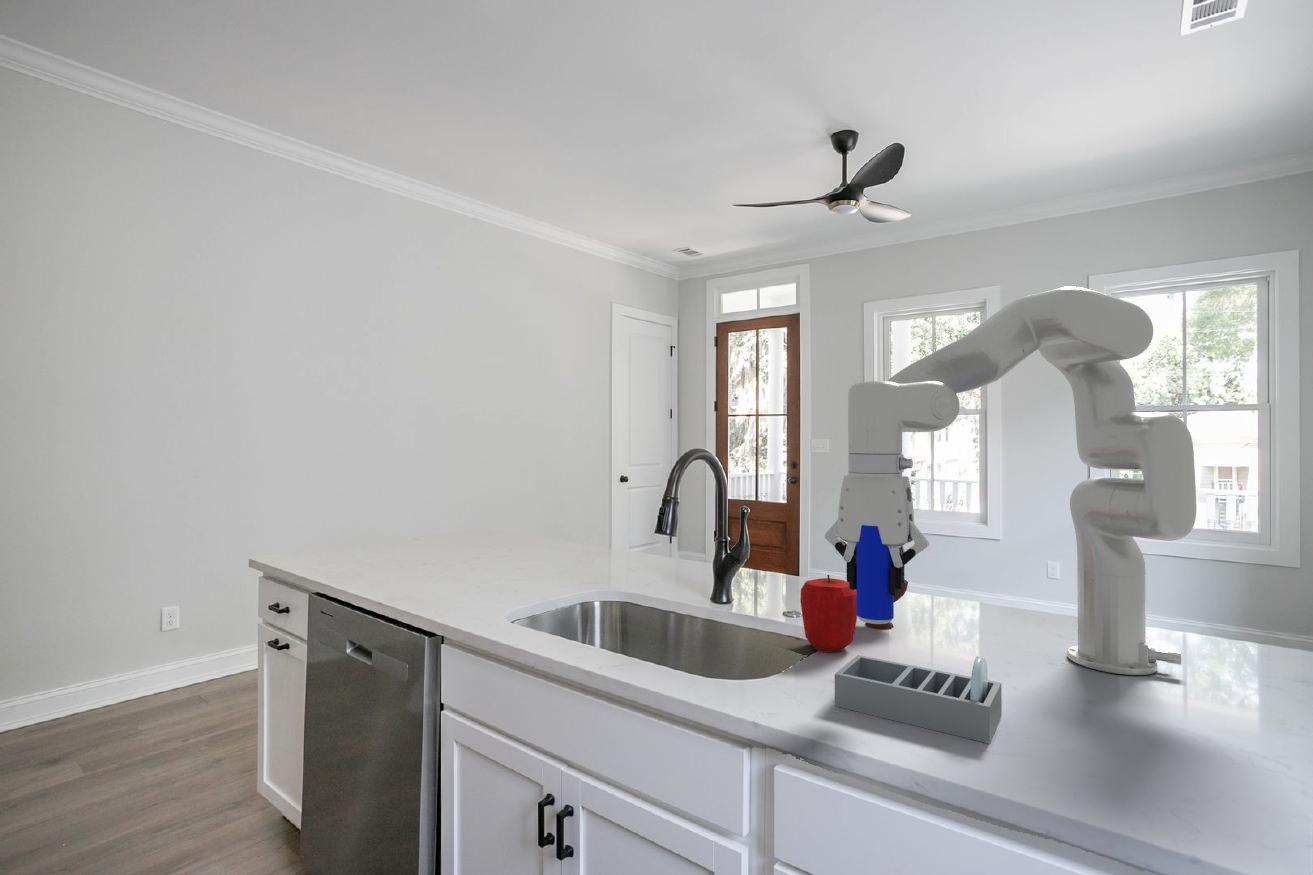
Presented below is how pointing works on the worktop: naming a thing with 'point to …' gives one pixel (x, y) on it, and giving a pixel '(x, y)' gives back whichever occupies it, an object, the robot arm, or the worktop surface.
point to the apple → (828, 613)
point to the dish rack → (918, 697)
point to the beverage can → (873, 577)
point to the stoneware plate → (979, 680)
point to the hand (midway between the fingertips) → (874, 589)
